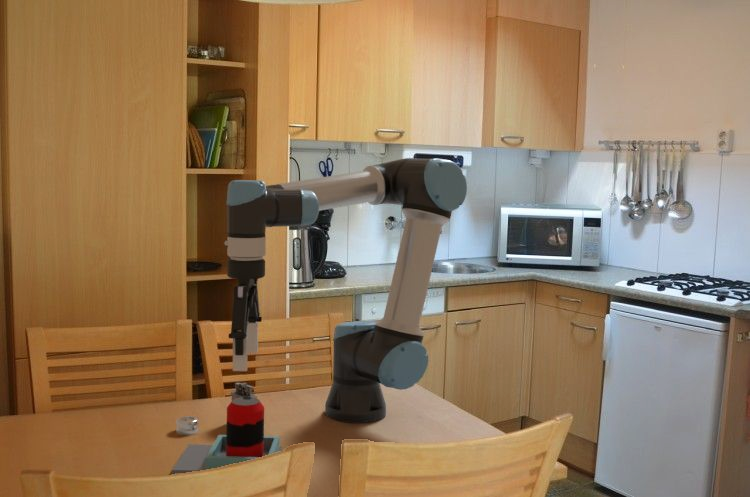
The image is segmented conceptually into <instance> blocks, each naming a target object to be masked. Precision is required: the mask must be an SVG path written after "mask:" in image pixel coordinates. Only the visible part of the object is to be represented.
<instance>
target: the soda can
mask: <svg viewBox="0 0 750 497" xmlns="http://www.w3.org/2000/svg"><path fill="white" fill-rule="evenodd" d="M225 435H226V456H233V457H262V456H263V447H264V436H265V406H264V405H263V403H262V402H261V400H260V399H259V398H258V397H257V398H253V397H240V398H236V399H233V400H232V399H231V402H230V403H229V404H228V406H226V434H225Z"/></svg>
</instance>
